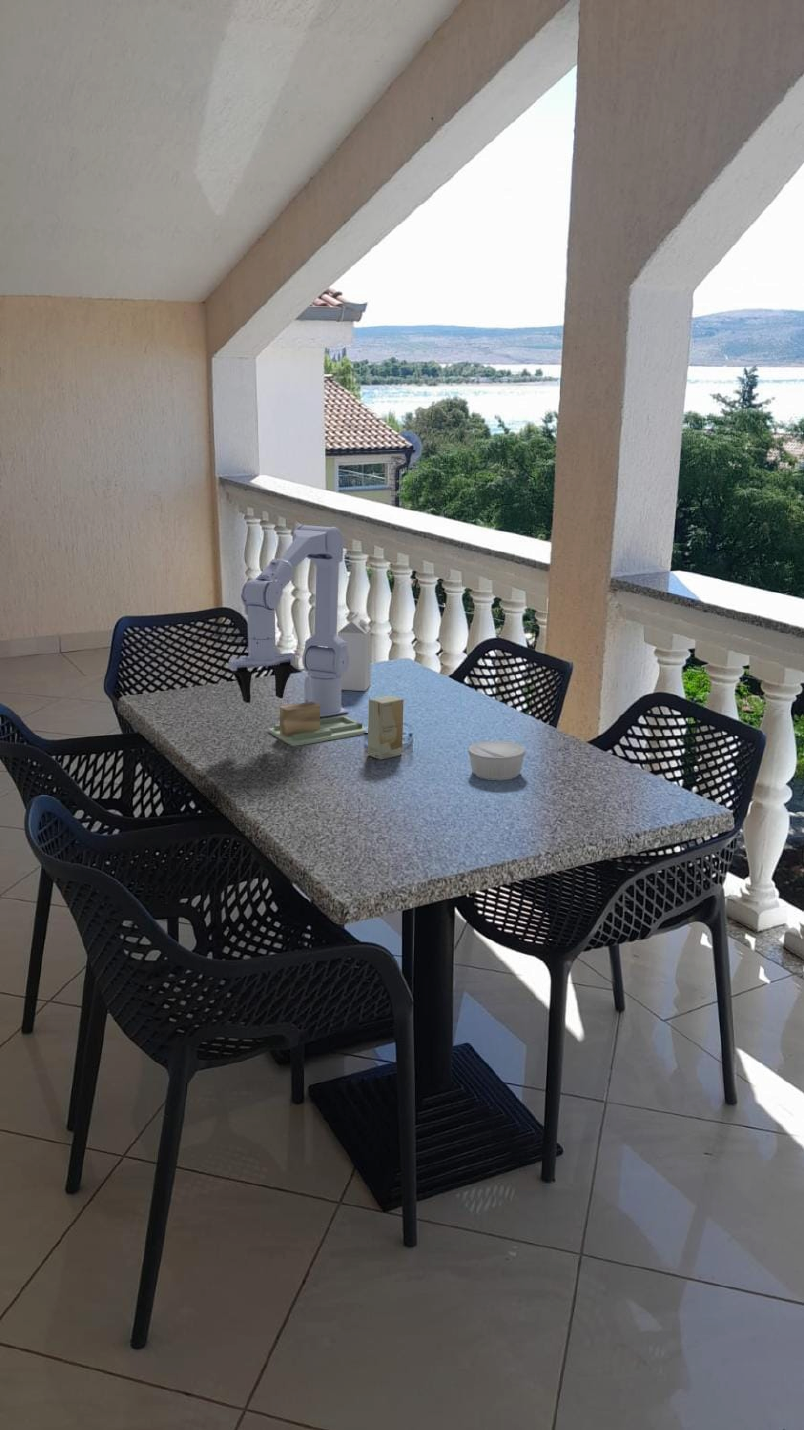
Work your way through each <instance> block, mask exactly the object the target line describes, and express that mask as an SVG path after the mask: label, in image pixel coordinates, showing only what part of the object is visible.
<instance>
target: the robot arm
mask: <svg viewBox="0 0 804 1430" xmlns="http://www.w3.org/2000/svg"><path fill="white" fill-rule="evenodd" d="M291 540H292V542H291V544H290V545H289V546H288V548H287V549H286V550H285V552H284V553H283V555H282V556H281V558H272V559H271V560H270V561H269V563H268V564H267V566H266V567H264V569H263V570H262V572H260V573H259V575H258V576H257V577H256V578H255V579H250V580H248V581H247V582H245V583H244V585H243V587H242V591H241V594H240V600H241V602H242V604H243V606H244V607H243V608H244V613H245V615H246V616H247V644H248V646H247V648H248V655H247V656H244V657H239V658H236V659H229V660H228V670H230V671H231V673H232V674H233V676H234V678H235V680H236V682H237V684H238V686H239V689H240V692H241V696H242V697H241V698H242V700H243V702H244V703H246V704H248V703H249V704H250V703H251V682H252V681H251V680H252V675H253V674H252V672H249V669H253V668H263V667H269V666H270V667H271V666H272V667H273V673H274V681H275V682H274V683H275V684H274V685H275V686H274V687H275V689H274V690H275V691H274V692H275V697H277V698H278V699H283V697H284V693H285V689H286V686H287V683H288V680H289V678H290V676H291V675H292V673H293V670H294V666H293V665H294V664H296V654H294V653H292V652H289V653H287V652H286V653H285V652H284V653H276V652H277V647H276V607H278V606H279V604H280V601H281V597H282V595H283V593H284V591H283V590H284V589H285V588H286V586H288V584H289V583H290V582H291V581H292V580H293V578H294V575H295V573H294V569H296V567H298V565H300V564H301V563H302V562H303V561H304V560H305V559H308V560H310V561H311V562H312V563H313V564H314V566H315V568H316V569H315V570H316V573H315V602H314V603H315V605H314V634H313V635H311V636H310V637H309V638H308V639H307V640H306V641H305V642H304V644H305V645H304V651H303V653H302V657H301V660H302V661H301V662H302V666H303V668H304V669H303V670H305V671H306V672H307V675H306V676H305V678H304V682H303V684H304V685H303V691H304V692H303V696H304V700H303V701H304V702H303V703H306V702H314V703H316V704H318V705H320V718H322V717H323V718H325V717H329V716H330V717H331V716H336V715H337V716H338V715H343V714H348V713H349V710H348V709H346V708H344V707H342V690H341V676H342V675H344V673H345V672H346V671H347V669H348V666H349V655H348V651H347V643H346V642H345V641H344V640H343V639H342V638H341V637H339V636H338V605H339V604H338V603H339V601H338V599H339V580H340V579H339V577H340V576H339V573H340V572H339V571H340V563H341V562H343V559H344V535H343V533H342V532H341V530H340V528H338V526H332V527H331V526H320V525H319V526H316V525H306V524H299V525H298V526H297V527H296V528H295V530H294V531H293V533H292V539H291ZM291 664H292V665H291Z"/></svg>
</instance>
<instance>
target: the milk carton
mask: <svg viewBox="0 0 804 1430" xmlns="http://www.w3.org/2000/svg"><path fill="white" fill-rule="evenodd" d="M358 615H359V613H358V611H357V612H355V613H354V614H353V615H352V616H351V618H350V621H349V622H348V623H346V625H344V626H343V627H342V628H341V629H340V630H339V631H337V635H338V636H339V637H341V638H342V639H343V640H344V641H345V642H346V643H347V651H348V655H349V666H348V669H347V671H346V672H345V673H344V675H342V676H341V691H353V692H354V691H357V692H366V691H367V690H368V689H369V687H370V686H371V684H372V679H371V678H372V674H371V673H372V672H371V669H372V668H371V667H372V663H371V660H372V659H371V658H372V656H371V655H372V645H371V644H372V641H371V639H372V632H371V631H372V629H371V626H369V624H368V622H367V621H366V619H363V618H360V617H359V616H358Z"/></svg>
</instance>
